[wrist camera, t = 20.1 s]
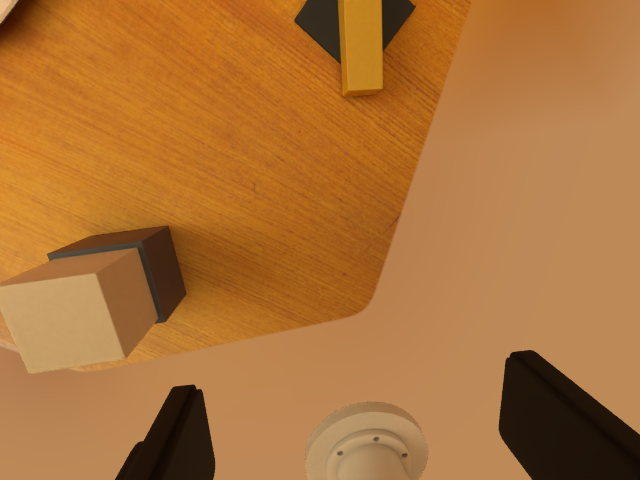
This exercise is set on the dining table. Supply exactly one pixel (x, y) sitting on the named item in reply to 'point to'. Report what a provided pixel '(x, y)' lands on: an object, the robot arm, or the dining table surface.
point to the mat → (324, 22)
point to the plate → (7, 8)
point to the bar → (361, 46)
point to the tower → (93, 299)
